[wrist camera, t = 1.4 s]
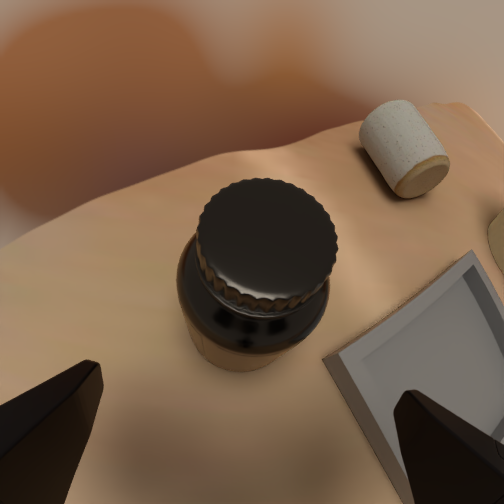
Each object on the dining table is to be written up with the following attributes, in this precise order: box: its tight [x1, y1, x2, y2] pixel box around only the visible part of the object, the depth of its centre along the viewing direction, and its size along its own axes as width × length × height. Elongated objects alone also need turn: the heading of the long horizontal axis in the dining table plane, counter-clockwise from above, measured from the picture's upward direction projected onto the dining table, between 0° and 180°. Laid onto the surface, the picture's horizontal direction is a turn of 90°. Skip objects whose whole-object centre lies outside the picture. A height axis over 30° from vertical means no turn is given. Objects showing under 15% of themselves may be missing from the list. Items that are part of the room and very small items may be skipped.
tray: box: [322, 249, 504, 504], centre depth 18 cm, size 18×18×3 cm
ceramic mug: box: [359, 100, 450, 198], centre depth 27 cm, size 11×8×8 cm
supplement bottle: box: [176, 178, 338, 372], centre depth 15 cm, size 7×7×12 cm
